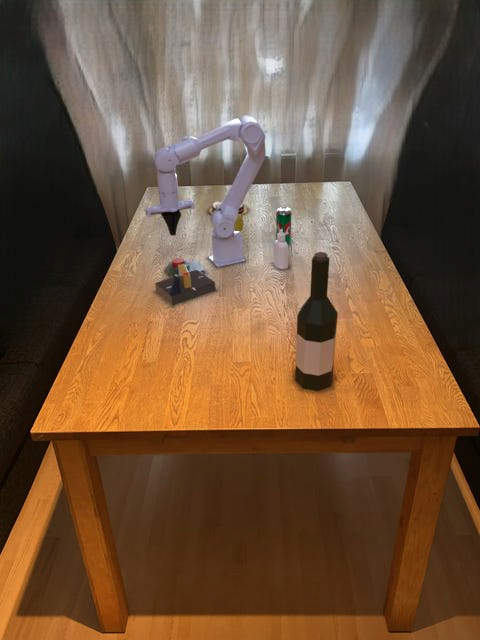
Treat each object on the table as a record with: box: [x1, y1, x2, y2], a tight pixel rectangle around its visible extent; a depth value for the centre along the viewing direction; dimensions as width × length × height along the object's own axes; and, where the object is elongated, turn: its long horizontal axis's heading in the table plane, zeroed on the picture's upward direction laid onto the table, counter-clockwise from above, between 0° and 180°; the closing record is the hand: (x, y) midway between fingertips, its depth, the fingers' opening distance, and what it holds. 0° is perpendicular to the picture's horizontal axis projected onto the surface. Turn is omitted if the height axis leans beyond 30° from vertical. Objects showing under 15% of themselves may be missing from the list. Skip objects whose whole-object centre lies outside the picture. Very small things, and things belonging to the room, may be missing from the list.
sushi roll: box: [208, 199, 248, 216], centre depth 206 cm, size 15×15×4 cm
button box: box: [165, 260, 206, 278], centre depth 162 cm, size 10×8×3 cm
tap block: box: [154, 270, 216, 307], centre depth 151 cm, size 14×12×3 cm
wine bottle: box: [294, 251, 339, 392], centre depth 109 cm, size 8×8×30 cm
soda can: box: [275, 206, 293, 246], centre depth 176 cm, size 5×5×12 cm
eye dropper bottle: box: [273, 229, 289, 270], centre depth 161 cm, size 4×6×12 cm
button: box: [171, 257, 185, 268], centre depth 160 cm, size 4×4×2 cm
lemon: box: [235, 214, 244, 233], centre depth 185 cm, size 6×6×8 cm
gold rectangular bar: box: [178, 264, 191, 288], centre depth 150 cm, size 8×2×4 cm, turn 19°
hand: (172, 234), depth 162 cm, fingers closed
